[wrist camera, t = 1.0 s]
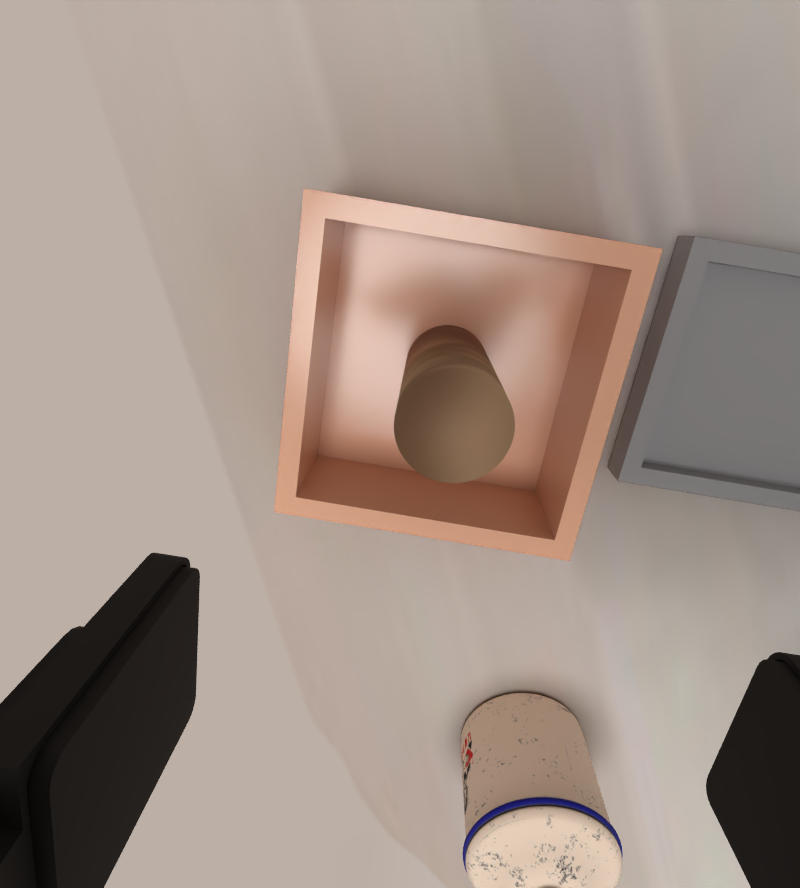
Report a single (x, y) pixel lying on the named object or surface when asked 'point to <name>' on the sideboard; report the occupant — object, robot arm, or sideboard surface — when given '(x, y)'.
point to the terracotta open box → (505, 341)
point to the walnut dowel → (452, 408)
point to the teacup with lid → (533, 799)
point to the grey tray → (719, 379)
